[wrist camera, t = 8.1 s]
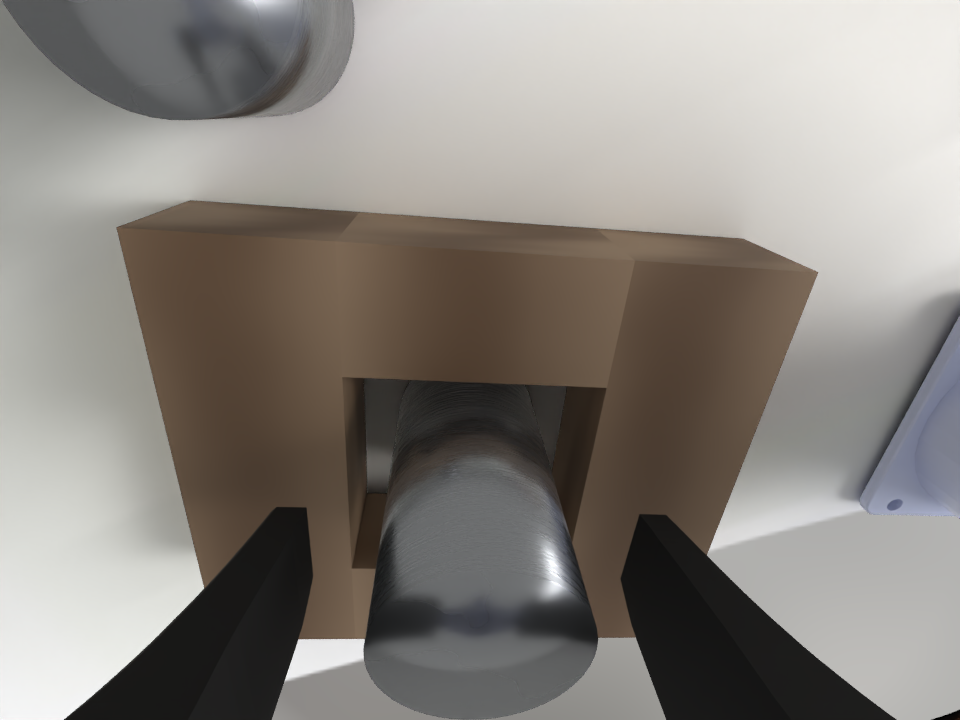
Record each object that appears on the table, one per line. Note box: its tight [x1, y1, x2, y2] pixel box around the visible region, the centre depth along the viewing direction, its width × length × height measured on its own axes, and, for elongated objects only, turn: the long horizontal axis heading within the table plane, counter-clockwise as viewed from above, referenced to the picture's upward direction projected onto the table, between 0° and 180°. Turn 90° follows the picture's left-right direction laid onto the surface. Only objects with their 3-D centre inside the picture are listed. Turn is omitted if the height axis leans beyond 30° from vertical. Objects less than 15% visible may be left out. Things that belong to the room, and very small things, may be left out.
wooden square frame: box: [117, 201, 818, 639], centre depth 14 cm, size 14×12×3 cm
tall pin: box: [364, 380, 598, 720], centre depth 12 cm, size 4×4×8 cm
